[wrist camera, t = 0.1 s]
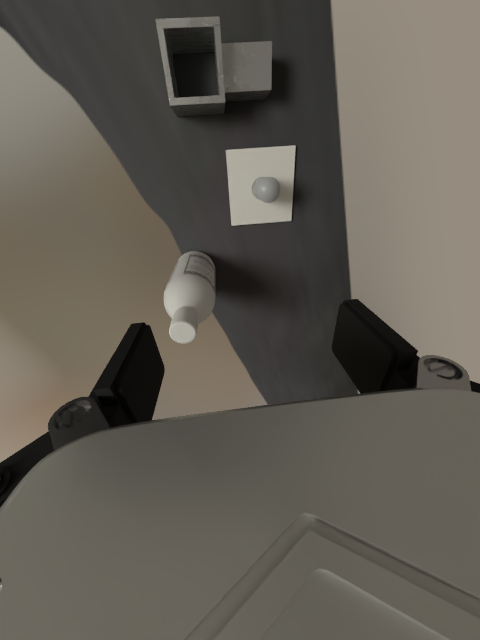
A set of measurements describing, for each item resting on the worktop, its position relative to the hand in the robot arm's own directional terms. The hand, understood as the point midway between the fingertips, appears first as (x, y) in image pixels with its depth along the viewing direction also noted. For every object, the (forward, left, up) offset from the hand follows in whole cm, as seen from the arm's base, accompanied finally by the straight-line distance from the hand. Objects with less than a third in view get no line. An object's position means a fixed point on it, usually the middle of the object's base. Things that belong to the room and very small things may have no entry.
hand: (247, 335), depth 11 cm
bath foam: (+7, -6, -31) cm, 33 cm away
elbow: (-17, +1, -31) cm, 35 cm away
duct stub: (-5, +6, -31) cm, 32 cm away
